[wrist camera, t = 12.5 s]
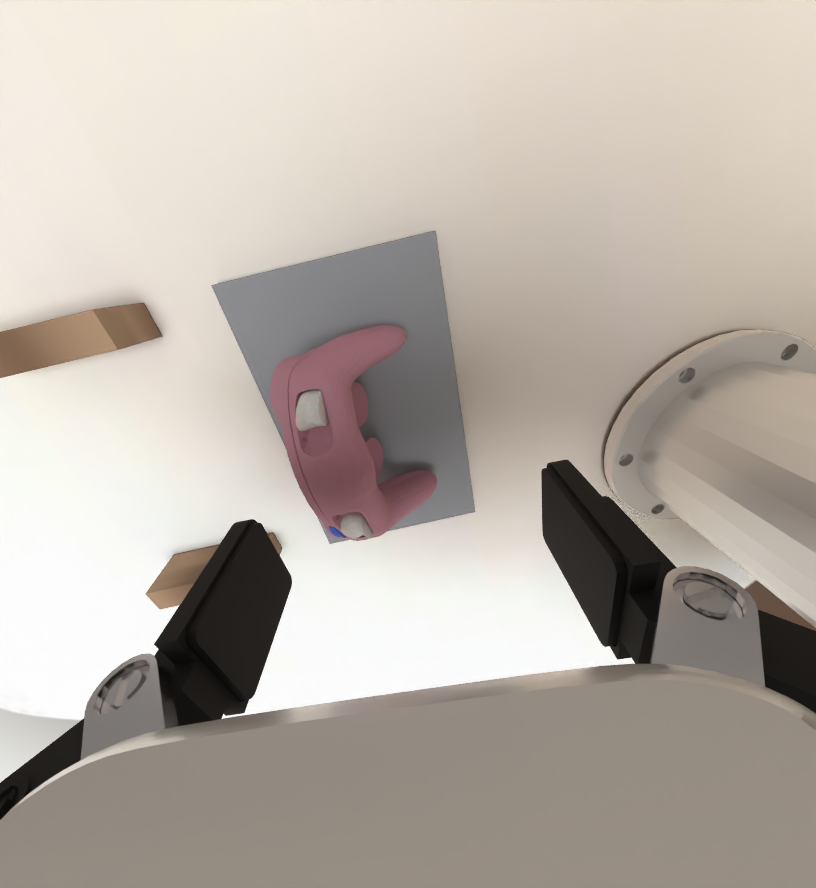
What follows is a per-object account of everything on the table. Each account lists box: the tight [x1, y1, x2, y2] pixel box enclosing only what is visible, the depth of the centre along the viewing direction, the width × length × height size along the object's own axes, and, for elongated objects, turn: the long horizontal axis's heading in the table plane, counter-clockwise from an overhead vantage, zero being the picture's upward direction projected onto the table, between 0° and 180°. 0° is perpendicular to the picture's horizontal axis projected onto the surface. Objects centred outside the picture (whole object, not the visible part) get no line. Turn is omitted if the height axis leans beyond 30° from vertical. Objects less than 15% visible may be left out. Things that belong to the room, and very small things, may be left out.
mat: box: [211, 231, 475, 544], centre depth 18 cm, size 10×16×1 cm, turn 12°
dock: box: [0, 303, 282, 609], centre depth 17 cm, size 7×16×3 cm, turn 12°
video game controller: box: [270, 325, 437, 541], centre depth 15 cm, size 10×5×7 cm, turn 12°
